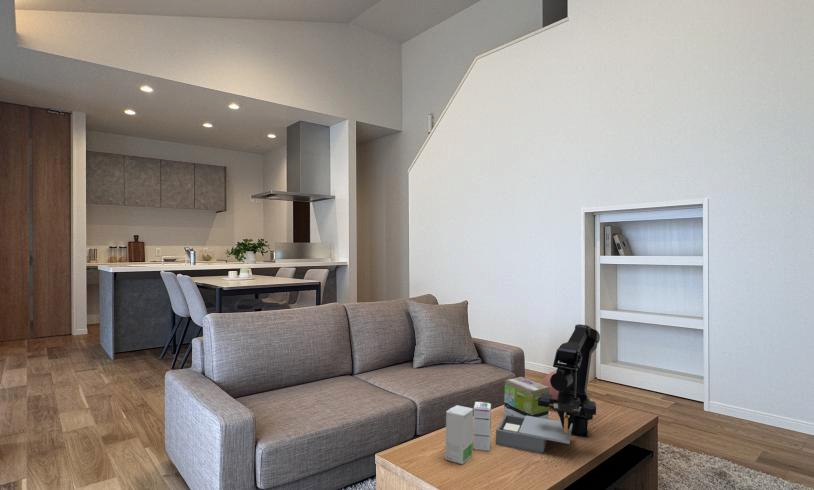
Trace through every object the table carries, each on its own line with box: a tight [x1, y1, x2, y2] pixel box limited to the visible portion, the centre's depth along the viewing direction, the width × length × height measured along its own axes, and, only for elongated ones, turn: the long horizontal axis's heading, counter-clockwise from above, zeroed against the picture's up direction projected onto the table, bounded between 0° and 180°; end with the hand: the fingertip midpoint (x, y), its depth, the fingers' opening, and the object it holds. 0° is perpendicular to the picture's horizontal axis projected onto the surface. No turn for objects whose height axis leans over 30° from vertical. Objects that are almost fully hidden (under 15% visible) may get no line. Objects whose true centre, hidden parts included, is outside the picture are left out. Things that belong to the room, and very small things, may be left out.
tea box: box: [503, 376, 550, 419], centre depth 182 cm, size 15×10×15 cm, turn 33°
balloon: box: [541, 370, 559, 408], centre depth 194 cm, size 15×20×15 cm
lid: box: [519, 414, 572, 445], centre depth 159 cm, size 16×16×6 cm
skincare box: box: [444, 404, 474, 465], centre depth 148 cm, size 8×7×16 cm
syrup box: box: [472, 401, 492, 452], centre depth 156 cm, size 6×6×14 cm
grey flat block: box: [495, 414, 548, 455], centre depth 163 cm, size 16×16×5 cm
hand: (565, 428), depth 157 cm, fingers closed on lid
